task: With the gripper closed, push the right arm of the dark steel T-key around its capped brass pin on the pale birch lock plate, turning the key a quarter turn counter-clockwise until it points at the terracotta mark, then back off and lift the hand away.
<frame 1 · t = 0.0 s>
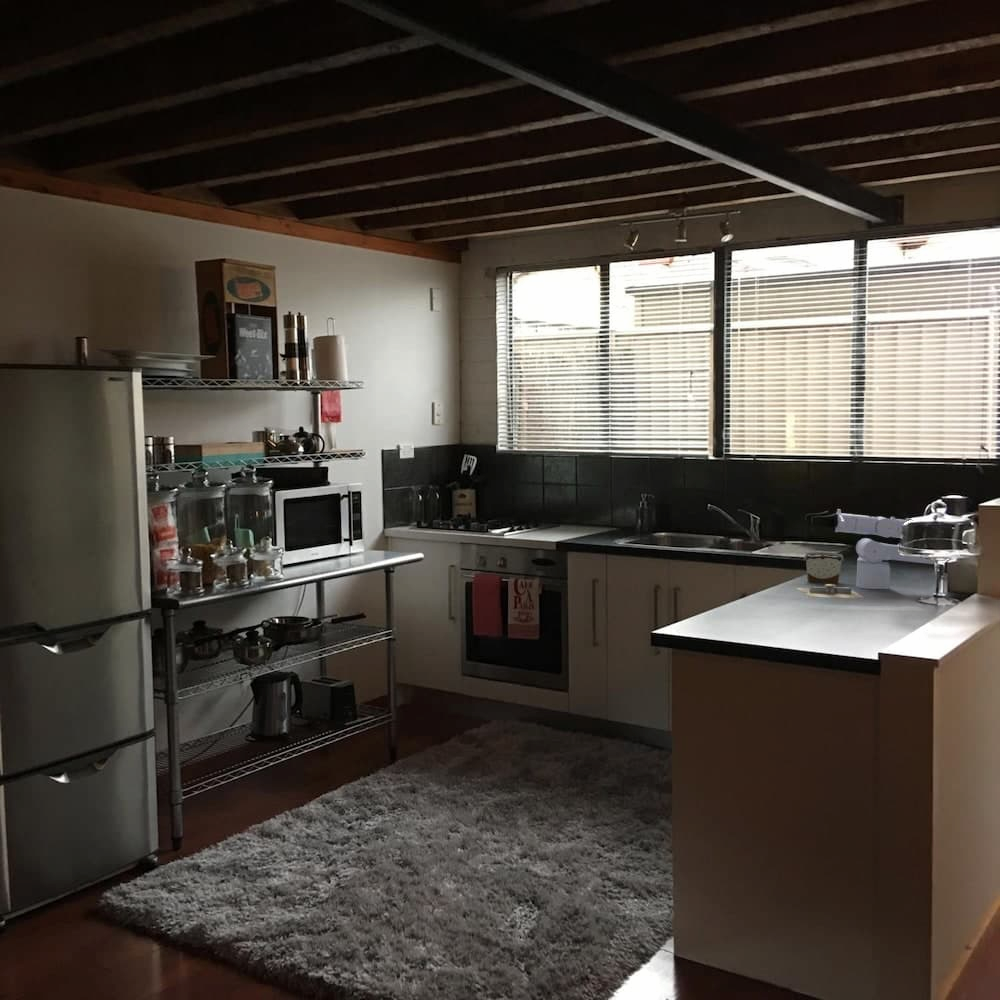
hand: (808, 519, 334), 22 cm above the counter, tool horizontal, fingers open, 7 cm apart
food container: (821, 584, 345), on the counter
lock plate: (829, 596, 322), on the counter
t key: (814, 592, 322), point 1 cm above the counter, touching lock plate
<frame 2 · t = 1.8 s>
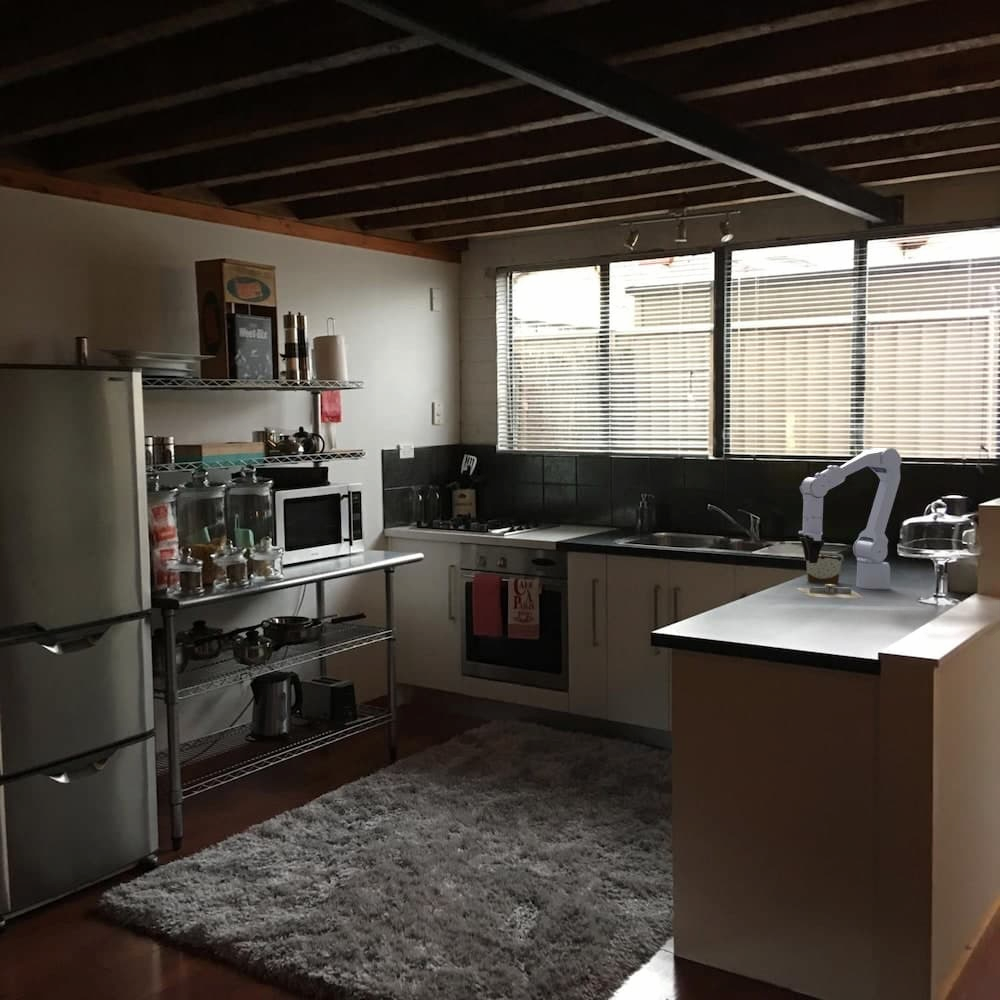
hand: (811, 561, 328), 9 cm above the counter, tool pointing down, fingers open, 5 cm apart
nothing on the counter moved.
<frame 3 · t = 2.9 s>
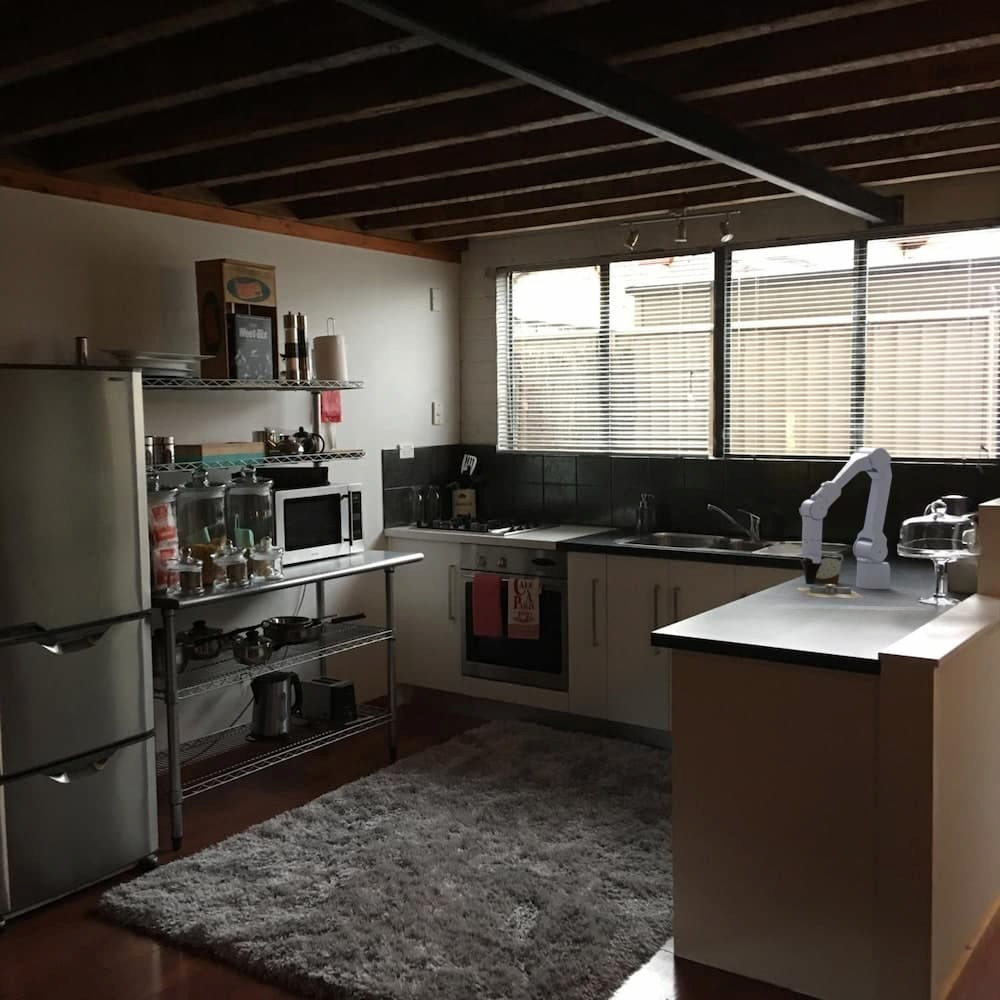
hand: (810, 583, 328), 3 cm above the counter, tool pointing down, fingers closed
nothing on the counter moved.
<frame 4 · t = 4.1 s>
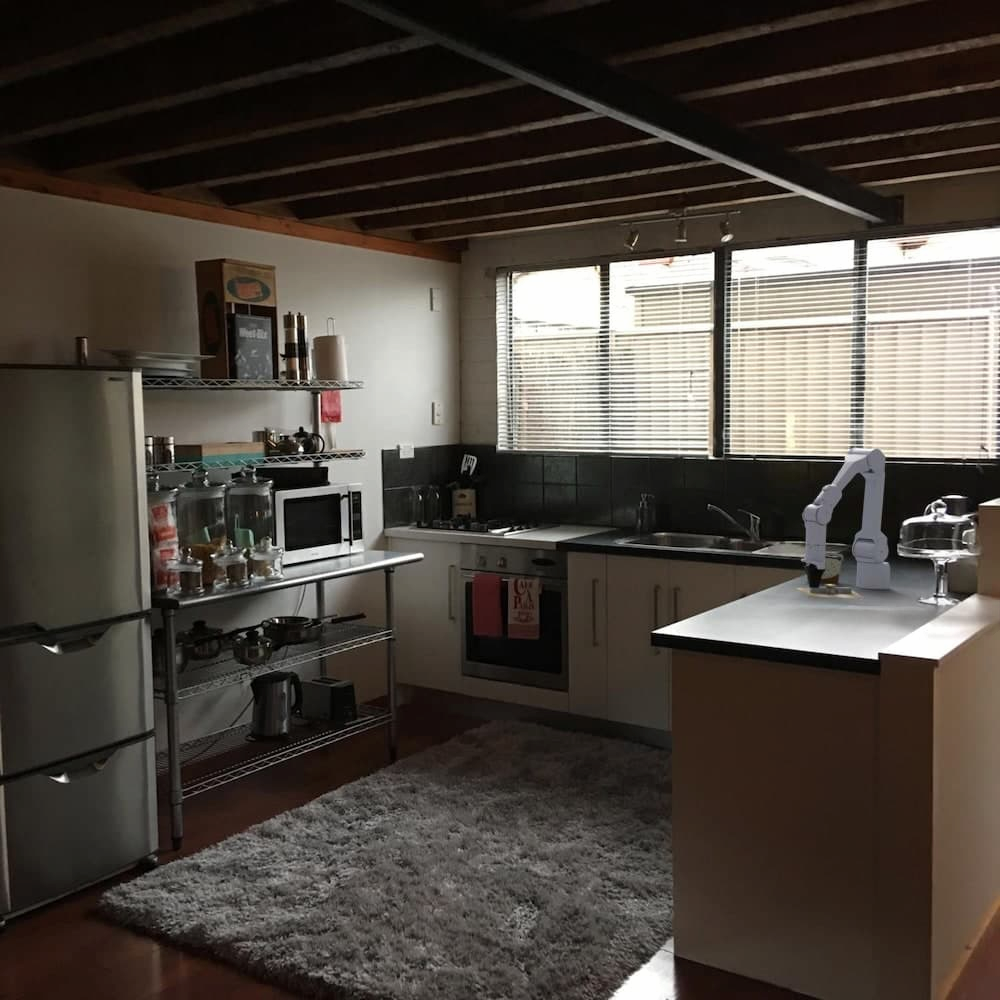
hand: (813, 589, 324), 2 cm above the counter, tool pointing down, fingers closed
t key: (815, 592, 322), point 1 cm above the counter, touching gripper
everything else where it was.
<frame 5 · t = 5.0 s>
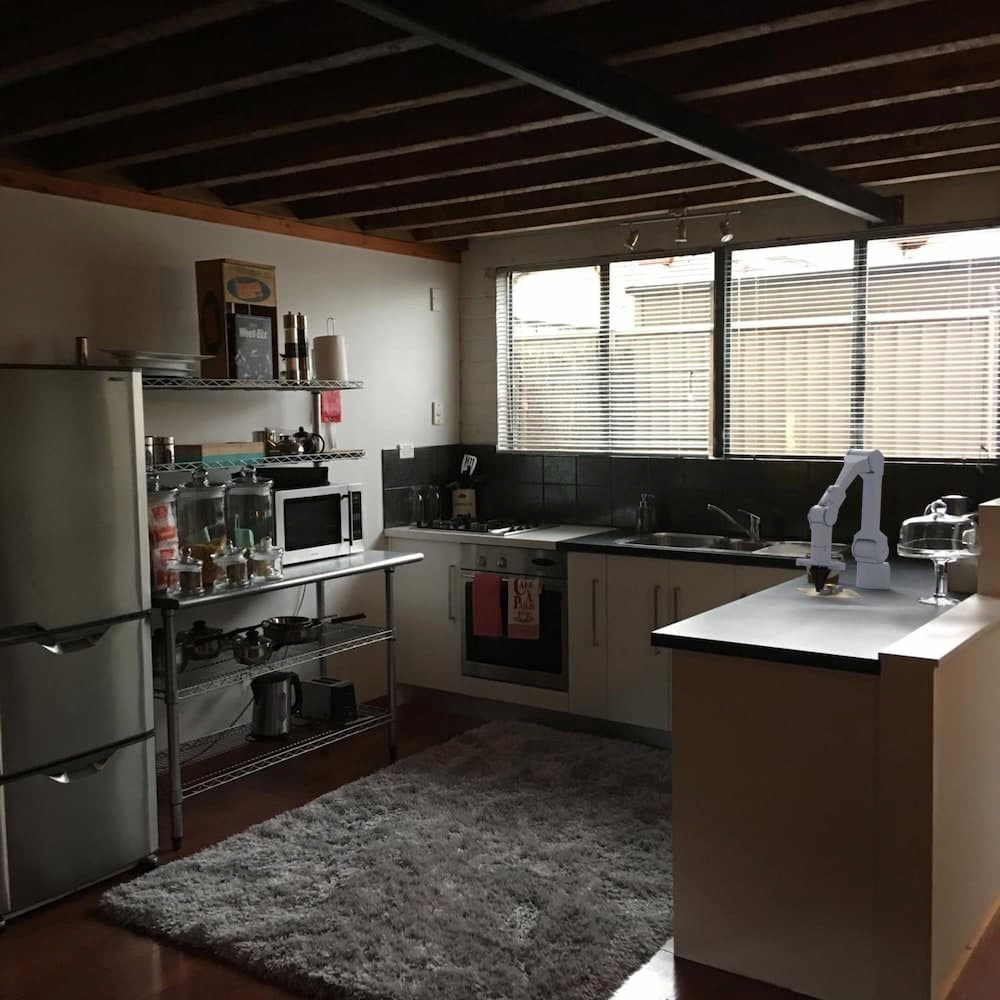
hand: (819, 591, 320), 2 cm above the counter, tool pointing down, fingers closed
t key: (824, 594, 319), point 1 cm above the counter, touching gripper, lock plate
everything else where it was.
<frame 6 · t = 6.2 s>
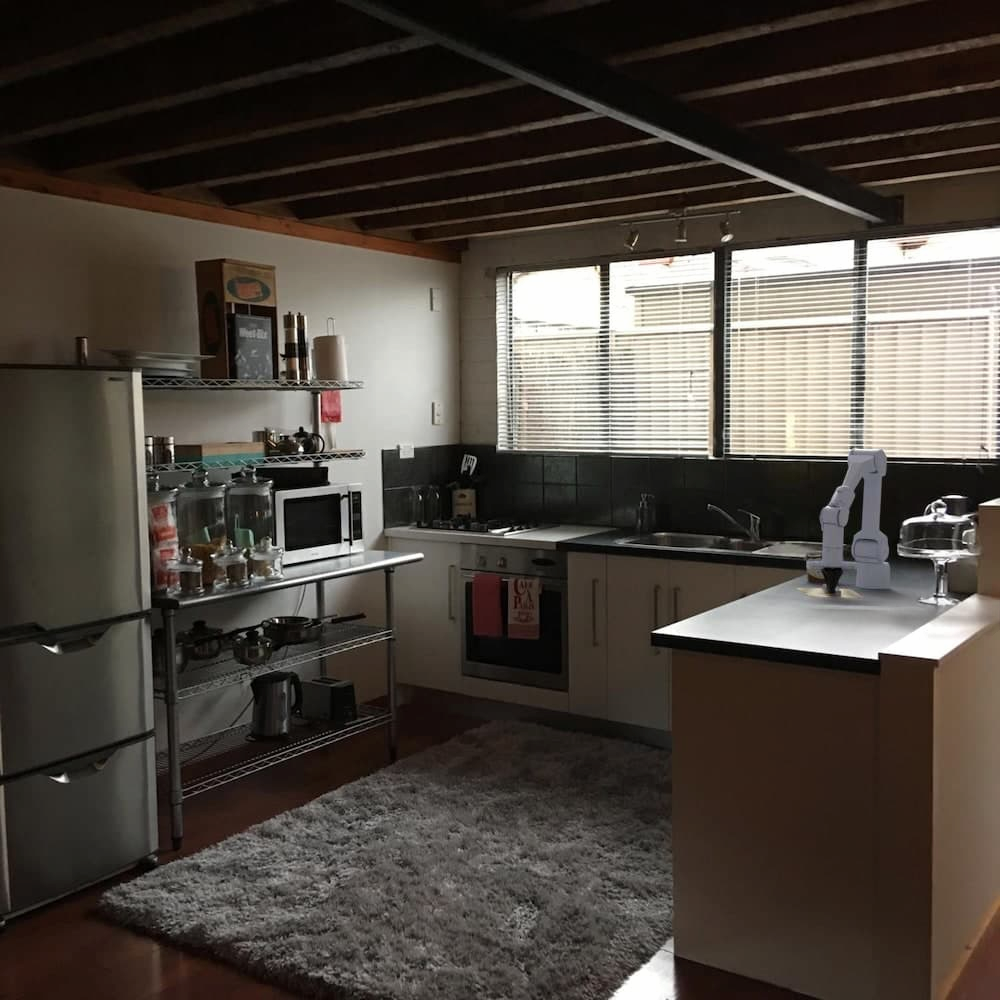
hand: (830, 593, 318), 2 cm above the counter, tool pointing down, fingers closed
t key: (836, 595, 318), point 1 cm above the counter, touching gripper, lock plate
everything else where it was.
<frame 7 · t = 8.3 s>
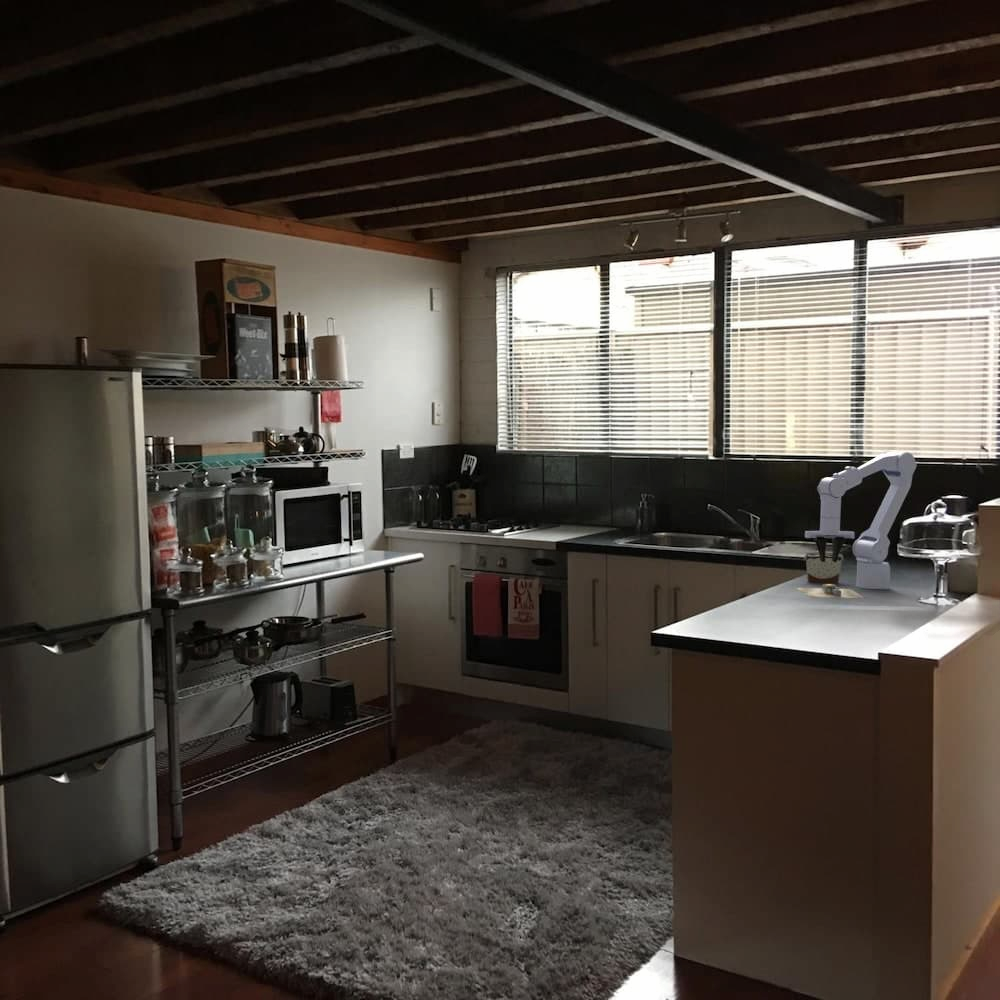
hand: (828, 561, 328), 9 cm above the counter, tool pointing down, fingers open, 3 cm apart
t key: (836, 595, 318), point 1 cm above the counter, touching lock plate
everything else where it was.
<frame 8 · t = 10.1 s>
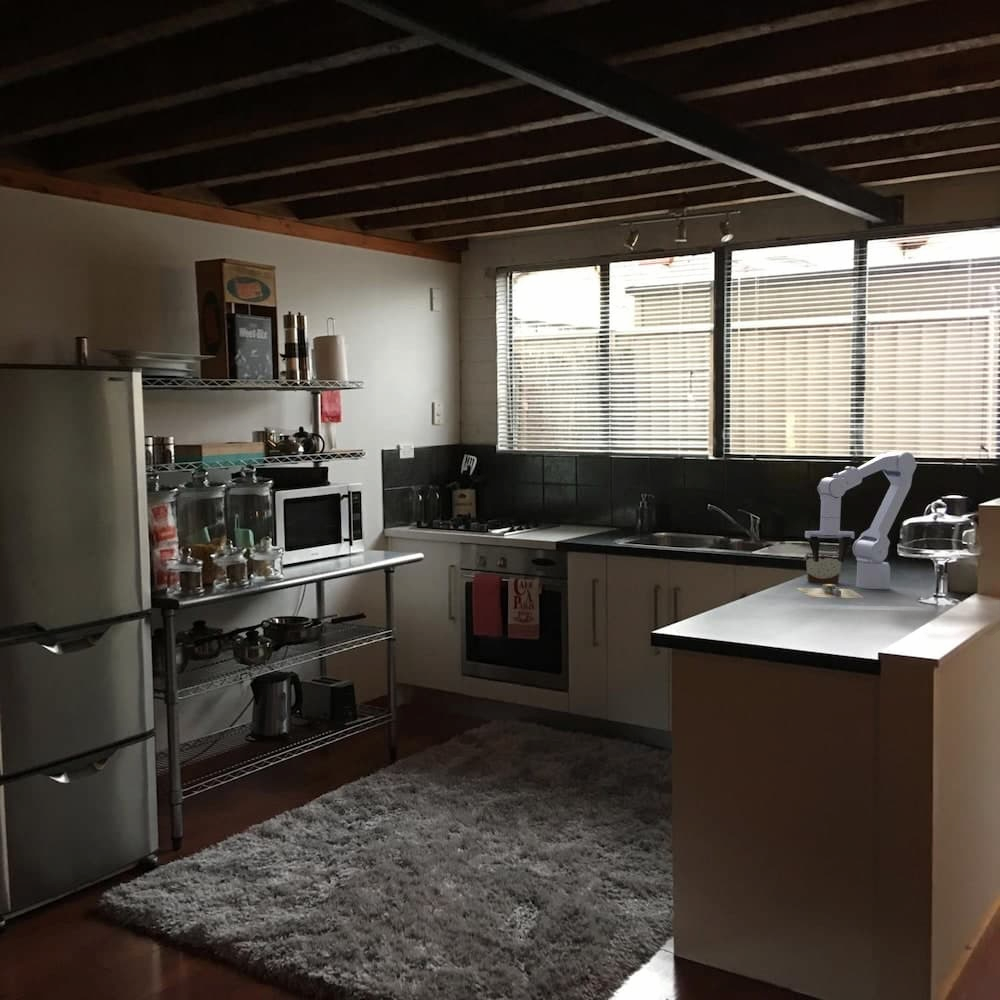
hand: (828, 561, 328), 9 cm above the counter, tool pointing down, fingers open, 7 cm apart
nothing on the counter moved.
at the end: t key 0.5 cm from the target spot, point 1.0 cm above the counter; t key tilted 0°; the gripper is holding nothing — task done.
